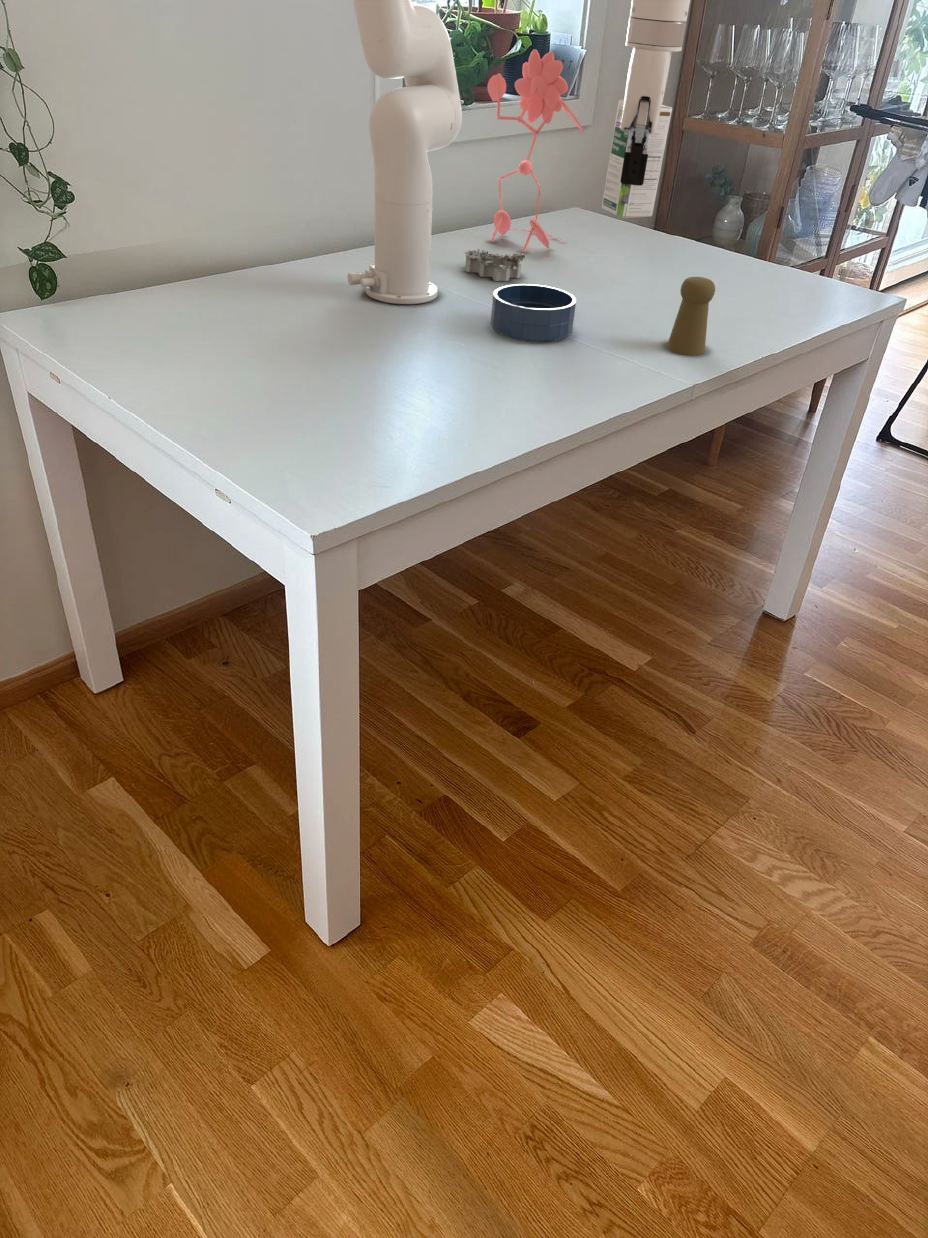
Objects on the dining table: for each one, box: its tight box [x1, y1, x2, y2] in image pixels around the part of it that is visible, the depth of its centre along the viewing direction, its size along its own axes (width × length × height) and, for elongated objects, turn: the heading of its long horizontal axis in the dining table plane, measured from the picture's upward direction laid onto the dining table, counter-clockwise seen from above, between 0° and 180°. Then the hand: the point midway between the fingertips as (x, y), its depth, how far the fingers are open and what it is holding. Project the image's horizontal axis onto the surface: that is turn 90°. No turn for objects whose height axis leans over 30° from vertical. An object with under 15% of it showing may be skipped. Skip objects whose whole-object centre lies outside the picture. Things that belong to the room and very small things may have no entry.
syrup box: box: [601, 98, 673, 219], centre depth 133 cm, size 6×6×14 cm
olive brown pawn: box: [666, 276, 716, 356], centre depth 147 cm, size 6×6×11 cm
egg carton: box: [463, 248, 526, 282], centre depth 177 cm, size 11×8×4 cm
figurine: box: [486, 48, 585, 259], centre depth 188 cm, size 15×26×35 cm, turn 44°
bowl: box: [490, 283, 577, 343], centre depth 151 cm, size 13×13×6 cm
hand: (632, 177), depth 135 cm, fingers closed on syrup box, 7 cm apart
